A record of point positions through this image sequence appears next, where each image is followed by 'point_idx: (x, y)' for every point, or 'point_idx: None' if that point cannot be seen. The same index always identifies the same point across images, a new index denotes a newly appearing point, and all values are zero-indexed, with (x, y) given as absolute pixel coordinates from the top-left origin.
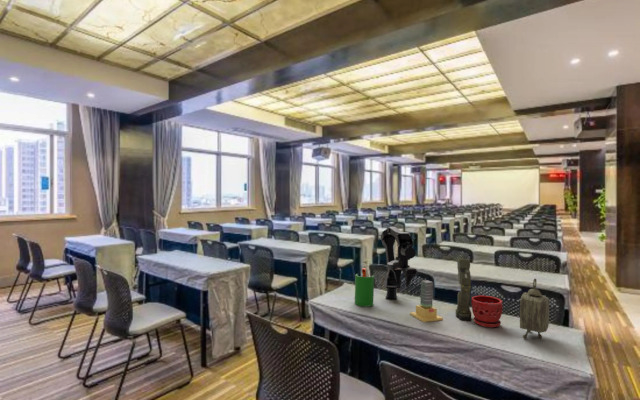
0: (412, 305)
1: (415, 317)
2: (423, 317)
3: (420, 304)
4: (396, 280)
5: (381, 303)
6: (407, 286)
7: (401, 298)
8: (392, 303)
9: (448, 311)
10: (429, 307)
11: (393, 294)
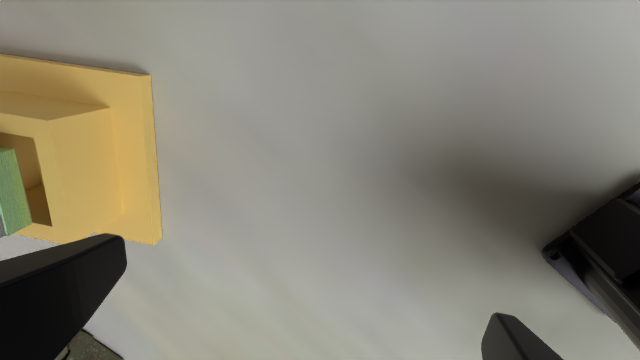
0: (341, 258)
1: (79, 65)
2: (16, 93)
3: (8, 149)
4: (525, 343)
5: (548, 11)
6: (111, 255)
7: (553, 320)
8: (475, 137)
9: (161, 355)
10: (37, 215)
11: (596, 255)
